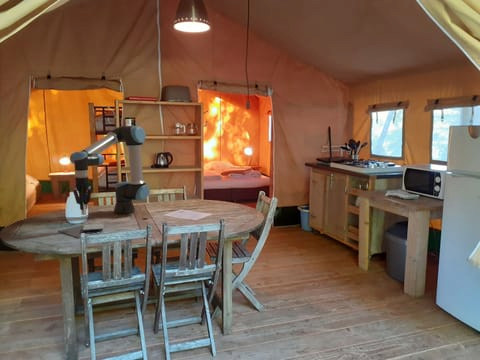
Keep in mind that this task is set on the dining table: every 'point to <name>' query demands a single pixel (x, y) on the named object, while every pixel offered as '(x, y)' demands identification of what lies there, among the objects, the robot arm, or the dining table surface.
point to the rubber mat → (76, 231)
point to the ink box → (93, 227)
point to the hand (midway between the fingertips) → (83, 214)
